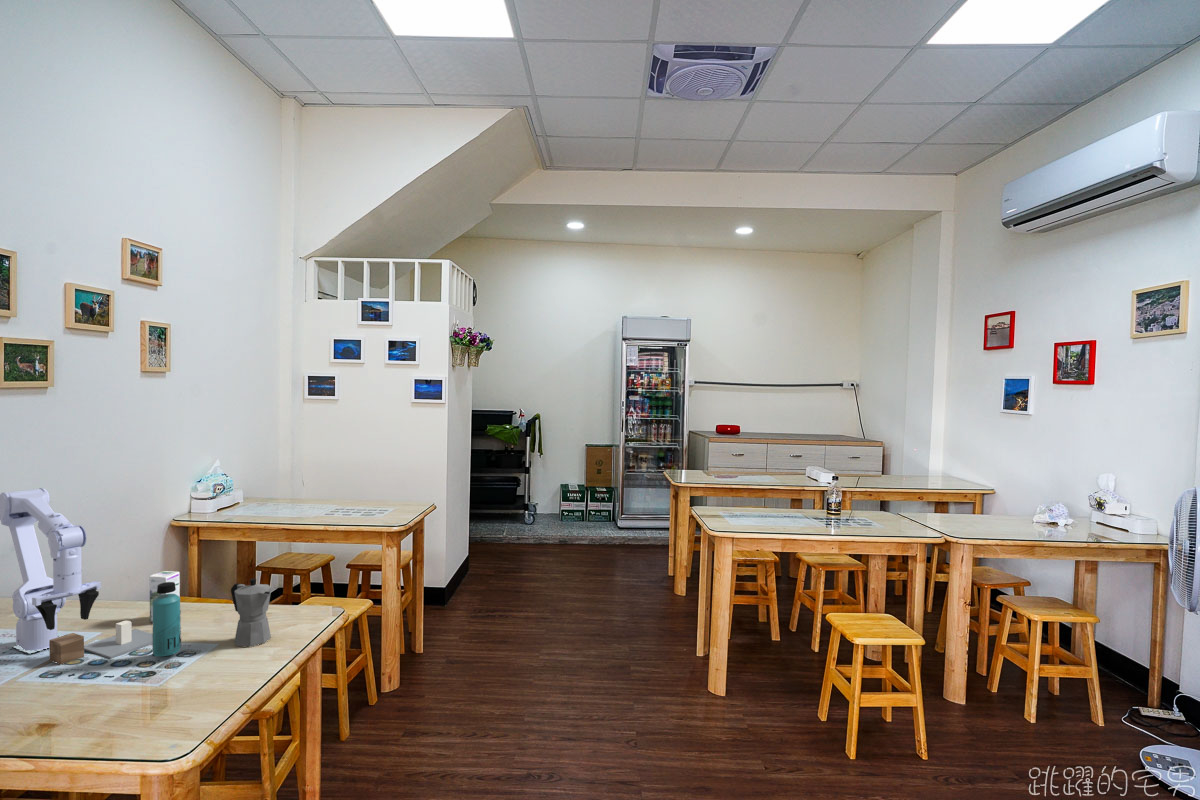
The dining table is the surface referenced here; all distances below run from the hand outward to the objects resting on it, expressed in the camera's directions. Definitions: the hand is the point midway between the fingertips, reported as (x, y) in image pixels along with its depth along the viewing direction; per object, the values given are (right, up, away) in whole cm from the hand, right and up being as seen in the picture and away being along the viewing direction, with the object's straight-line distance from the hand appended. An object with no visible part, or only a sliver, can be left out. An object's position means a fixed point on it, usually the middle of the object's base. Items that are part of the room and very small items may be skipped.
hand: (67, 623), depth 164 cm
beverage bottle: (+25, -10, +2) cm, 27 cm away
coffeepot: (+41, -10, +14) cm, 44 cm away
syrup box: (+6, -9, +28) cm, 30 cm away
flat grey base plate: (+7, -9, +10) cm, 15 cm away
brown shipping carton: (0, -9, 0) cm, 9 cm away
